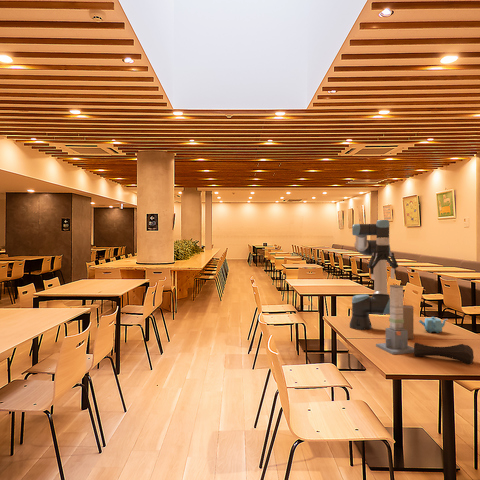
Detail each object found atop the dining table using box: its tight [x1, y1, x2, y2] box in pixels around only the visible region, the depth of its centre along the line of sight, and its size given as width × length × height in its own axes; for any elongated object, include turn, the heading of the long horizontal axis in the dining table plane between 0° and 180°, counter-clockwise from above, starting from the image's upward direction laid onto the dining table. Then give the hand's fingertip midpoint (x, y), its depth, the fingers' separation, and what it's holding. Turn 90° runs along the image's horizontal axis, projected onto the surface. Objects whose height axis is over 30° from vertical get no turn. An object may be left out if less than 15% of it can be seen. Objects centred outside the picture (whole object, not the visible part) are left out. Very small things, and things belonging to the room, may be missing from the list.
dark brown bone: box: [413, 342, 475, 365], centre depth 195 cm, size 11×10×28 cm
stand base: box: [375, 327, 414, 355], centre depth 214 cm, size 16×16×12 cm
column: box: [388, 284, 404, 331], centre depth 214 cm, size 6×6×27 cm
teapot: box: [418, 316, 449, 334], centre depth 254 cm, size 18×14×10 cm
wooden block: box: [403, 304, 414, 340], centre depth 240 cm, size 10×10×20 cm
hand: (382, 279), depth 230 cm, fingers open, 13 cm apart
